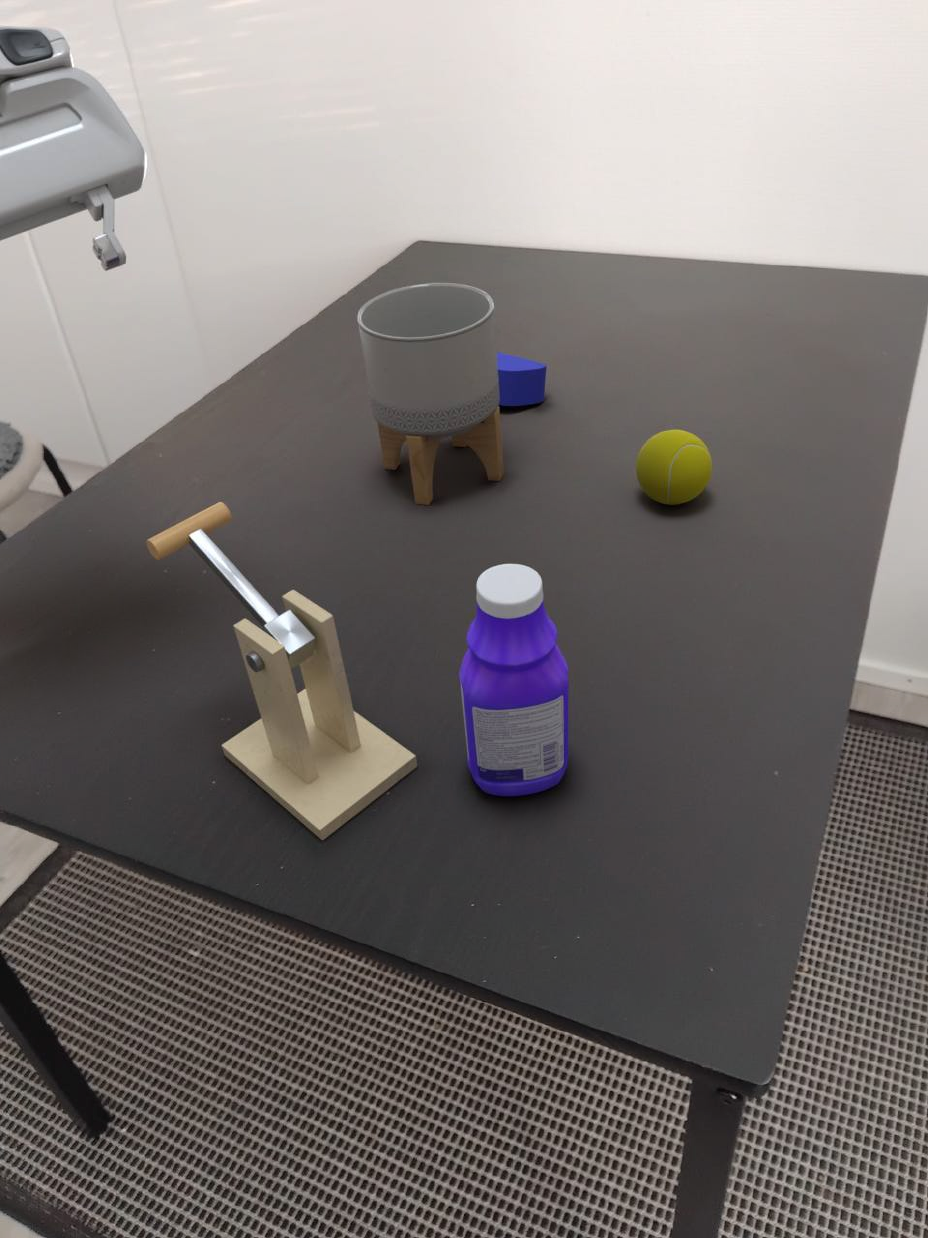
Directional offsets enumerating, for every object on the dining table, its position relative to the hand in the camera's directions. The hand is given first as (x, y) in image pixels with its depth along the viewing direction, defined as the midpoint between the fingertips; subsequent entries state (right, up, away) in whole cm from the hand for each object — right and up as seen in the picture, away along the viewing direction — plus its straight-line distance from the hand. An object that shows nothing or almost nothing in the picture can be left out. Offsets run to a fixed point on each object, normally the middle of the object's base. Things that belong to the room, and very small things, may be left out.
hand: (50, 289), depth 65 cm
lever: (+12, -20, +3) cm, 24 cm away
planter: (+25, -6, +39) cm, 47 cm away
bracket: (+16, -32, +9) cm, 37 cm away
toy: (+31, +4, +51) cm, 60 cm away
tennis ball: (+48, -10, +32) cm, 58 cm away
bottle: (+31, -33, +6) cm, 46 cm away
